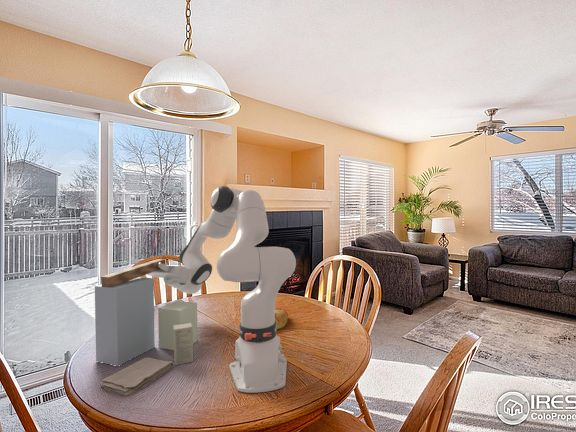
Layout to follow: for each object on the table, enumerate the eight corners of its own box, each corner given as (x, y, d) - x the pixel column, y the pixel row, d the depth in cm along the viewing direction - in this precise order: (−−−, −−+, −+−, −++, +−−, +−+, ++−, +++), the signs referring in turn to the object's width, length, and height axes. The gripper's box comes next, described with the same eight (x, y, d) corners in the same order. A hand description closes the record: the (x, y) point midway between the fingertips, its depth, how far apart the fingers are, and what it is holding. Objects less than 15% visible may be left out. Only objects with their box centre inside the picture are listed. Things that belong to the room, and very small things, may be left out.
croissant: (272, 342, 127) (280, 327, 126) (253, 328, 130) (260, 313, 129) (290, 323, 147) (297, 310, 145) (273, 312, 150) (279, 298, 148)
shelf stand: (134, 343, 120) (133, 276, 119) (154, 346, 116) (153, 278, 116) (96, 362, 105) (94, 286, 104) (117, 367, 101) (116, 288, 101)
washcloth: (97, 390, 89) (97, 379, 89) (147, 362, 106) (147, 353, 105) (127, 399, 84) (127, 388, 84) (174, 368, 101) (174, 359, 101)
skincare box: (192, 356, 108) (192, 322, 108) (193, 362, 104) (193, 326, 104) (173, 359, 106) (173, 324, 106) (173, 365, 102) (173, 329, 102)
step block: (177, 337, 125) (176, 300, 125) (197, 340, 121) (197, 302, 121) (158, 347, 116) (158, 307, 115) (180, 351, 112) (179, 310, 112)
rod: (159, 267, 128) (158, 258, 127) (165, 267, 126) (165, 259, 126) (101, 286, 103) (100, 276, 103) (109, 287, 102) (108, 277, 102)
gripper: (158, 267, 139) (136, 256, 127) (195, 270, 132) (176, 257, 120) (153, 281, 136) (130, 270, 124) (191, 284, 129) (170, 273, 117)
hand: (153, 264), depth 122 cm, fingers closed on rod, 3 cm apart
